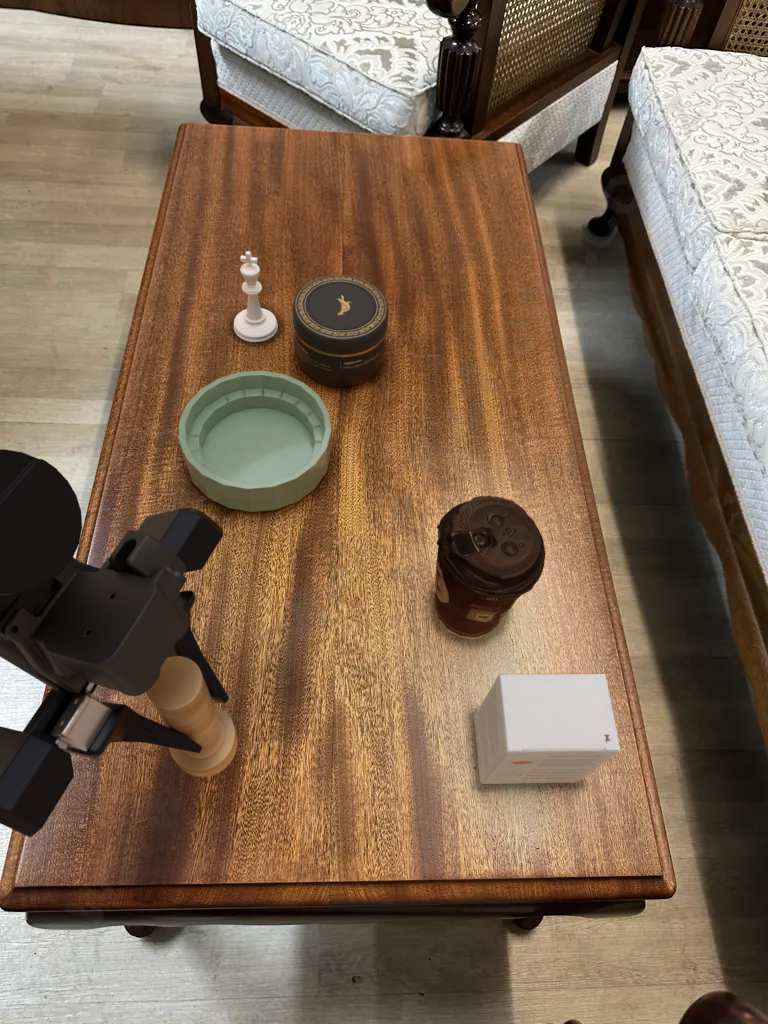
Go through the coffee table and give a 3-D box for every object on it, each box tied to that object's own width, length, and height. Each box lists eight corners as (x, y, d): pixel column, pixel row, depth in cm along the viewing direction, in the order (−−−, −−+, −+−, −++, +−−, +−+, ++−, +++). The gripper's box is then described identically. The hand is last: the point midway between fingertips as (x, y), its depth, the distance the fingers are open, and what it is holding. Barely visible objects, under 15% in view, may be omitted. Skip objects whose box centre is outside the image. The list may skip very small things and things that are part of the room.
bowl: (156, 475, 70) (147, 447, 66) (238, 381, 77) (234, 351, 73) (282, 538, 67) (280, 512, 63) (355, 434, 74) (357, 406, 70)
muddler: (160, 759, 49) (115, 700, 38) (196, 702, 52) (162, 631, 41) (216, 788, 49) (186, 736, 38) (249, 729, 51) (230, 664, 40)
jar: (363, 318, 83) (367, 264, 77) (398, 379, 79) (405, 326, 72) (281, 338, 81) (278, 283, 74) (312, 402, 76) (312, 350, 70)
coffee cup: (405, 629, 63) (423, 558, 52) (434, 552, 67) (456, 472, 57) (500, 664, 62) (538, 599, 51) (523, 584, 66) (563, 508, 55)
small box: (566, 714, 60) (609, 671, 51) (577, 785, 57) (624, 751, 48) (471, 714, 60) (498, 670, 51) (478, 785, 57) (507, 752, 48)
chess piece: (239, 308, 83) (230, 234, 74) (281, 315, 83) (277, 241, 74) (228, 338, 80) (218, 264, 72) (272, 345, 80) (266, 272, 72)
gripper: (-107, 775, 26) (206, 922, 34) (166, 414, 36) (360, 593, 43) (-163, 745, 34) (102, 870, 42) (74, 455, 43) (252, 600, 51)
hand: (211, 725), depth 44 cm, fingers closed on muddler, 3 cm apart
